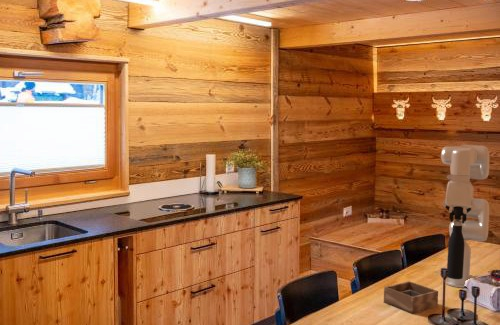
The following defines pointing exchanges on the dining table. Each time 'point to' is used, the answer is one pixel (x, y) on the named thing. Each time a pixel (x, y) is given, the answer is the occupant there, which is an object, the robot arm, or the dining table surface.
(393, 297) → the crate
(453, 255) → the wine bottle
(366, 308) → the dining table surface
